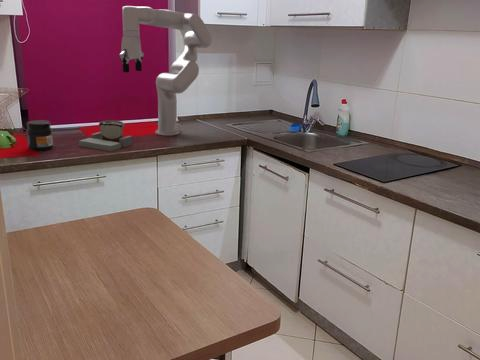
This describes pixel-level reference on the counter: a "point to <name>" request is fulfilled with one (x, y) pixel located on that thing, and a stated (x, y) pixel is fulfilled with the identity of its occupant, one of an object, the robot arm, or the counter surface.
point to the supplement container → (39, 135)
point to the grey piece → (105, 142)
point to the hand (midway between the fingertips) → (132, 71)
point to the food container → (111, 130)
